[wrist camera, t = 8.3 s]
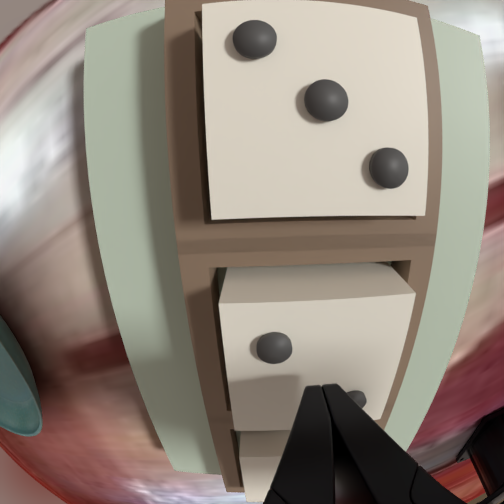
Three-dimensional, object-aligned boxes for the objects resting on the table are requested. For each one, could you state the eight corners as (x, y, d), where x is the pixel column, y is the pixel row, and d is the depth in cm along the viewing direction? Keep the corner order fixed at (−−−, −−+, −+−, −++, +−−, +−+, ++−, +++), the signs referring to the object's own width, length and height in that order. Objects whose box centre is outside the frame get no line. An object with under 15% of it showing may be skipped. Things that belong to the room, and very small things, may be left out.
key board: (394, 434, 16) (408, 473, 13) (180, 446, 16) (170, 488, 13) (452, 45, 8) (500, 28, 5) (110, 42, 9) (65, 17, 6)
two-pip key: (363, 374, 11) (381, 423, 9) (238, 381, 11) (234, 435, 9) (383, 258, 9) (419, 296, 7) (228, 263, 10) (217, 307, 7)
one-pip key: (338, 458, 14) (345, 497, 11) (247, 464, 14) (246, 504, 11) (354, 403, 12) (368, 450, 9) (242, 411, 12) (238, 461, 10)
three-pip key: (386, 196, 9) (429, 217, 6) (224, 199, 9) (210, 222, 6) (381, 43, 7) (420, 15, 5) (216, 37, 7) (200, 0, 5)
